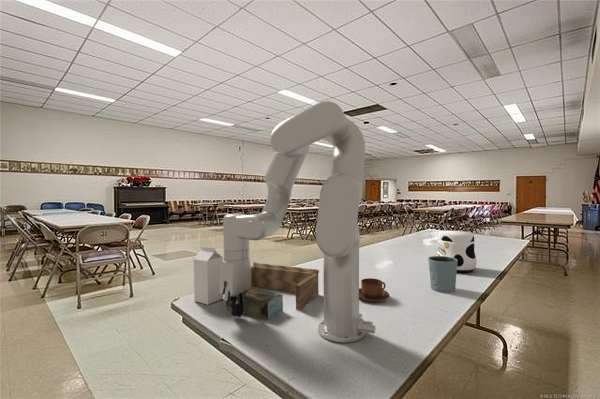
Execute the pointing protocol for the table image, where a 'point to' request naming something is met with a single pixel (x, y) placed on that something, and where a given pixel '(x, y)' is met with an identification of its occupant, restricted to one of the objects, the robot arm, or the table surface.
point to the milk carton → (207, 276)
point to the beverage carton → (261, 303)
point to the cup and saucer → (372, 290)
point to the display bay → (287, 280)
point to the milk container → (458, 248)
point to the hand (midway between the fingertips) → (237, 315)
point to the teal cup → (443, 273)
